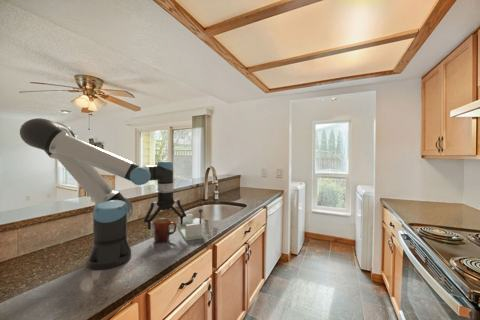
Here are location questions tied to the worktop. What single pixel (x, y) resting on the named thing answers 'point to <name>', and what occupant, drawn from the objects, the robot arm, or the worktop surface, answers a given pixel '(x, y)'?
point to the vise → (192, 230)
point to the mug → (162, 229)
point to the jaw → (188, 219)
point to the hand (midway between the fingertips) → (165, 232)
